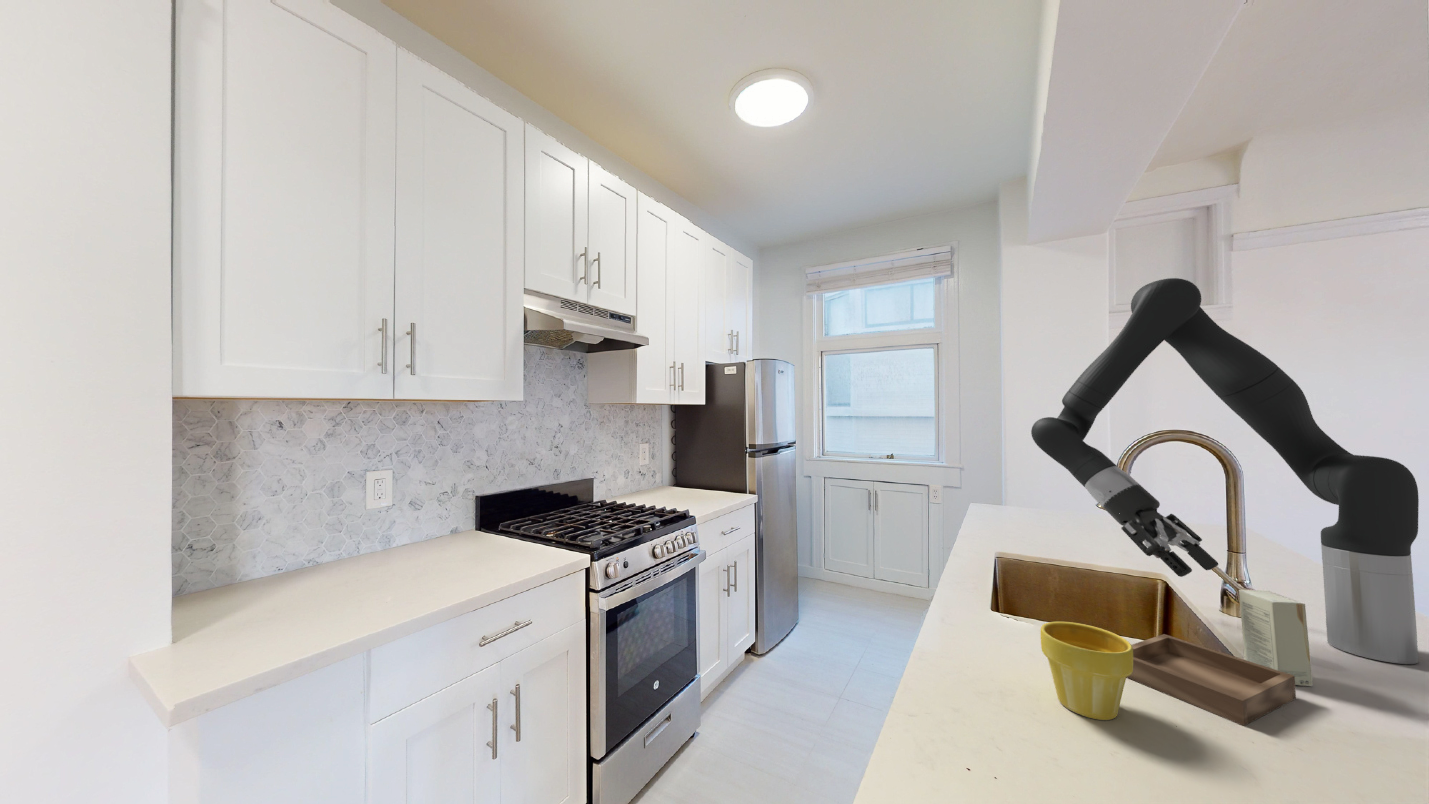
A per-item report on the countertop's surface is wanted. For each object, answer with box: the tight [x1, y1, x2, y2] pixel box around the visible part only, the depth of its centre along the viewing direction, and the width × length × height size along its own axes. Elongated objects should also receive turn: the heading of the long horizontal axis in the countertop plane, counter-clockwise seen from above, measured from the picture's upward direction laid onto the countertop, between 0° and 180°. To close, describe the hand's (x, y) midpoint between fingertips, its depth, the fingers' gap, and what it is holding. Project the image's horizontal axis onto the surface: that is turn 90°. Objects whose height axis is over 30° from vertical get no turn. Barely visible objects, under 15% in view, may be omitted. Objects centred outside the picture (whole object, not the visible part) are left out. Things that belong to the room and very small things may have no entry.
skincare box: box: [1238, 589, 1313, 687], centre depth 76 cm, size 6×4×12 cm
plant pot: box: [1040, 621, 1133, 721], centre depth 68 cm, size 10×10×10 cm
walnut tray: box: [1126, 633, 1297, 727], centre depth 73 cm, size 15×15×3 cm
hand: (1200, 571), depth 84 cm, fingers open, 8 cm apart
